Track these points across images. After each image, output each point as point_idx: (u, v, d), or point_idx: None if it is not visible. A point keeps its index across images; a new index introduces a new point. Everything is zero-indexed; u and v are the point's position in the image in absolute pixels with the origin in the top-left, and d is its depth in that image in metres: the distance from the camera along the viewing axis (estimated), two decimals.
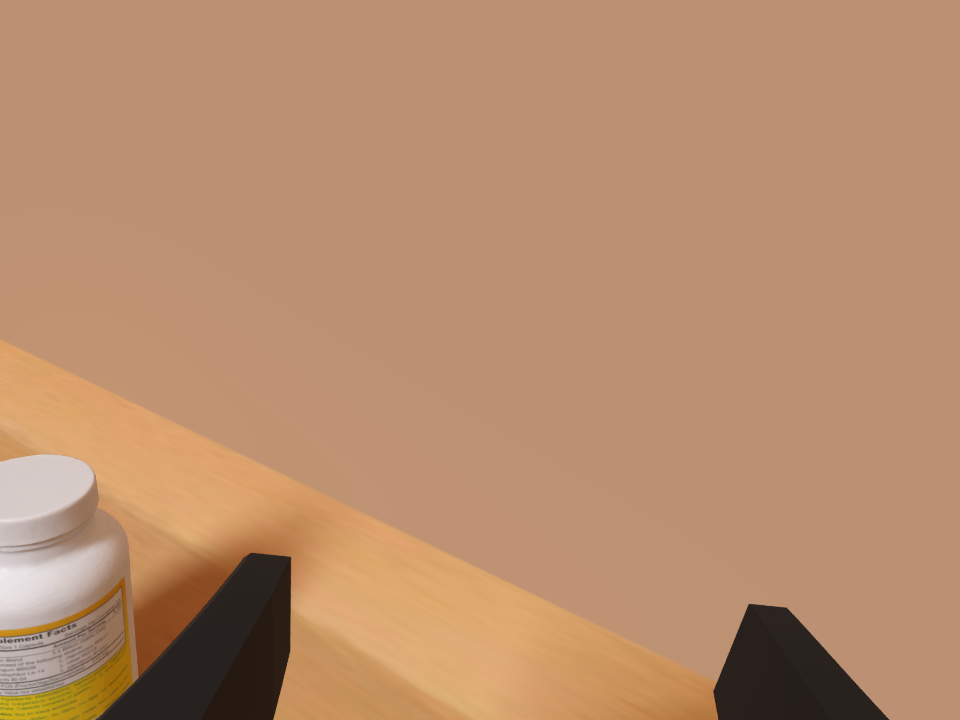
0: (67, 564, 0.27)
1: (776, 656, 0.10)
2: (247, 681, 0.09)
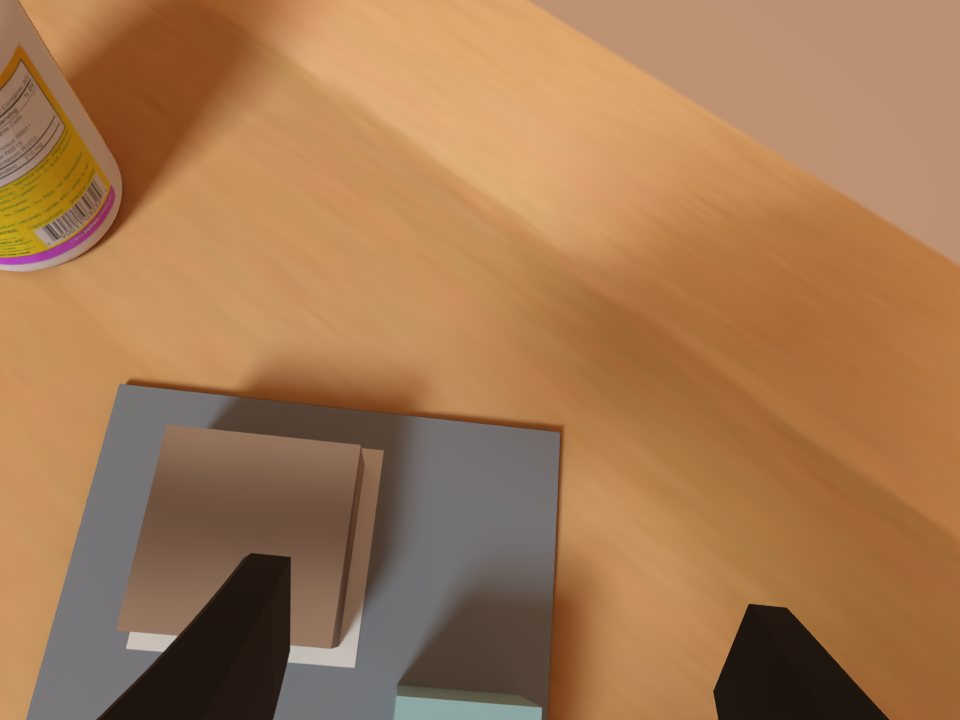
0: None
1: (776, 656, 0.10)
2: (247, 681, 0.09)
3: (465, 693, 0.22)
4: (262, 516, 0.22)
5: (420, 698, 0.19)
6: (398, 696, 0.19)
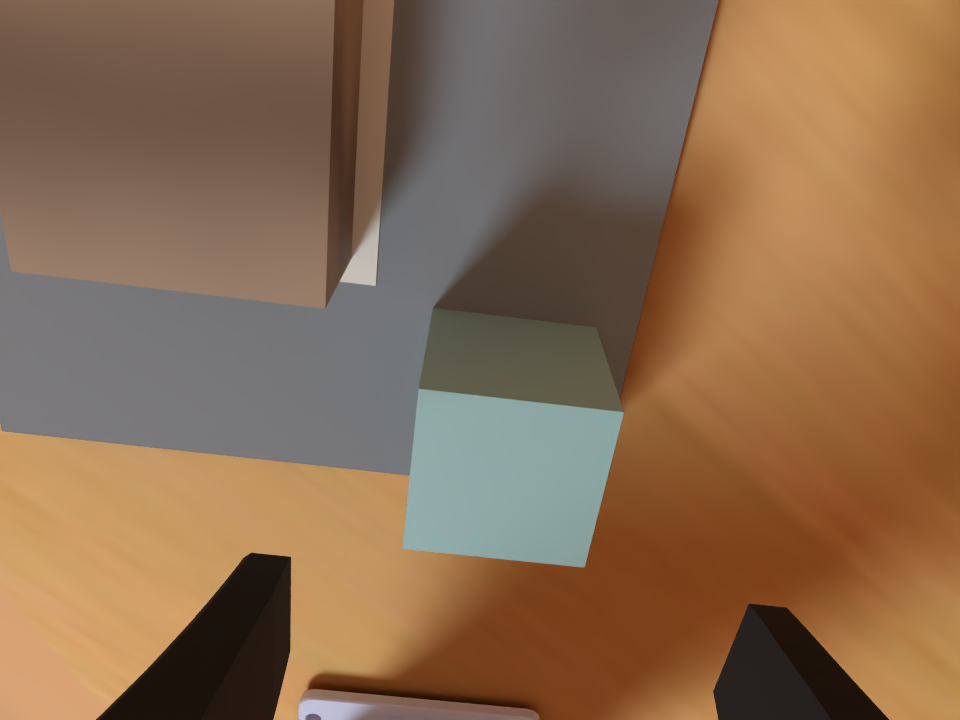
0: None
1: (776, 656, 0.10)
2: (247, 681, 0.09)
3: (522, 339, 0.16)
4: (179, 103, 0.12)
5: (452, 392, 0.14)
6: (421, 387, 0.14)
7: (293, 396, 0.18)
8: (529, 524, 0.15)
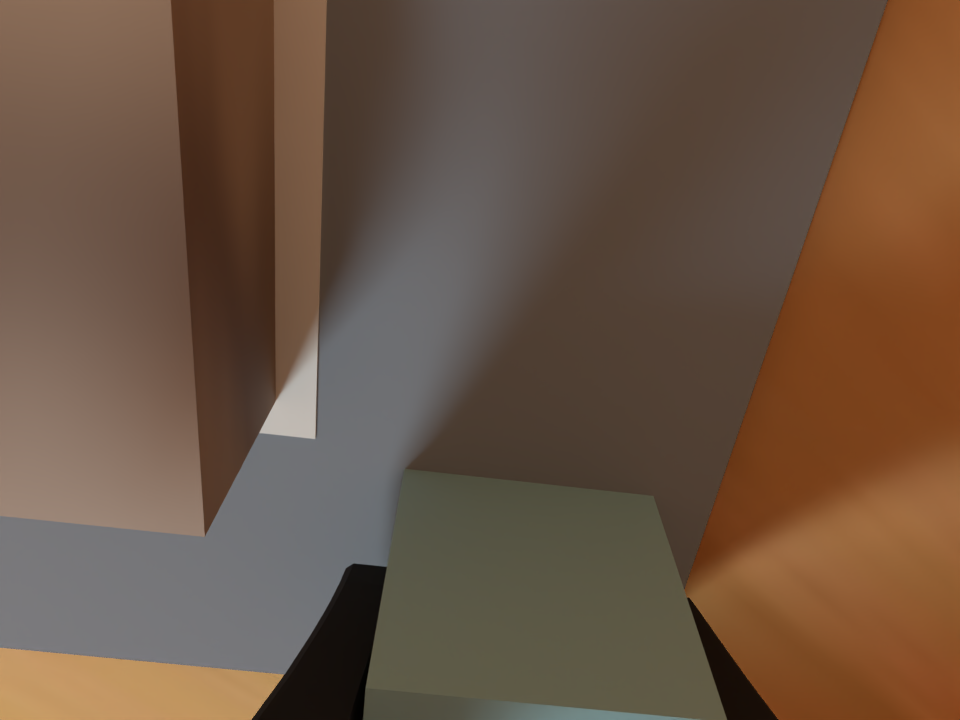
0: None
1: None
2: None
3: (543, 535, 0.10)
4: None
5: (425, 692, 0.08)
6: (371, 683, 0.08)
7: (200, 584, 0.12)
8: None
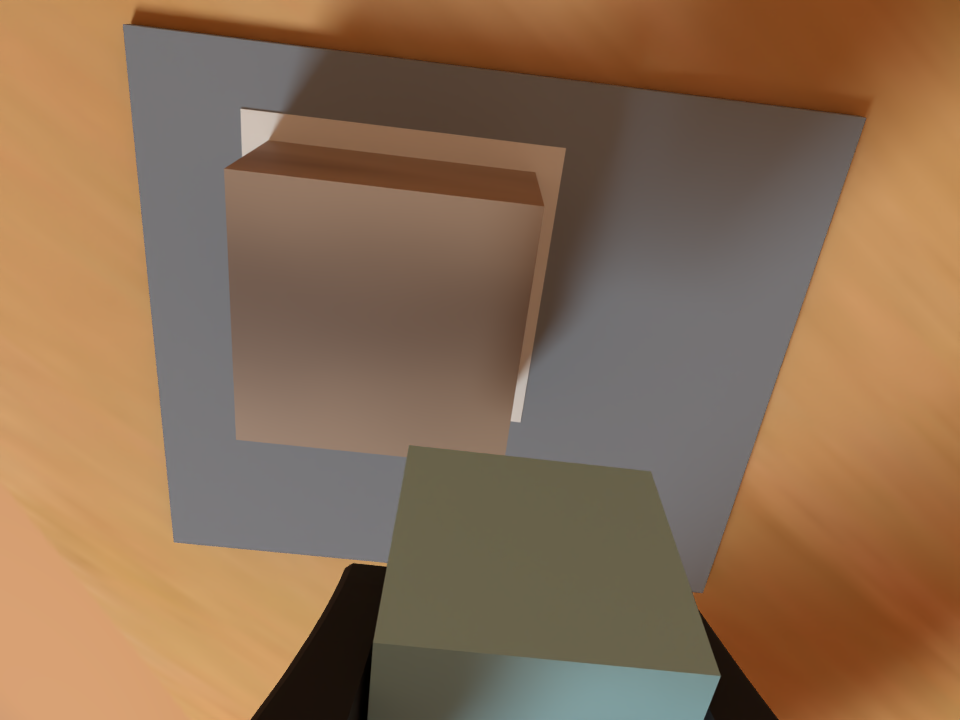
0: None
1: None
2: (366, 692, 0.09)
3: (543, 506, 0.11)
4: (398, 312, 0.14)
5: (430, 647, 0.08)
6: (378, 638, 0.08)
7: None
8: None
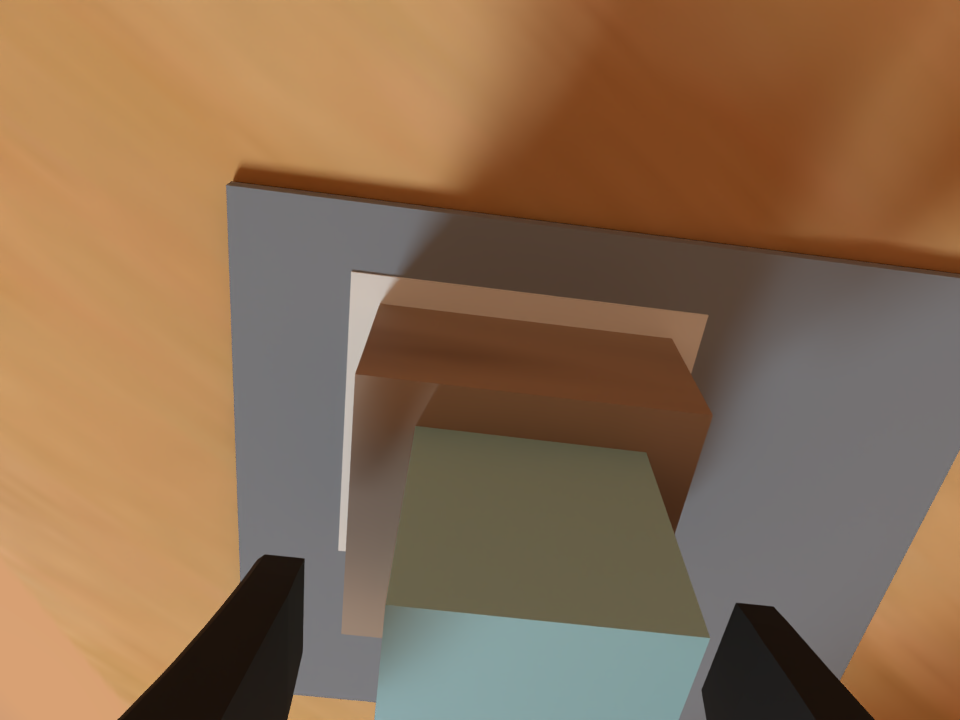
0: None
1: (762, 655, 0.10)
2: (263, 683, 0.09)
3: (544, 483, 0.11)
4: None
5: (439, 609, 0.09)
6: (390, 601, 0.09)
7: None
8: None
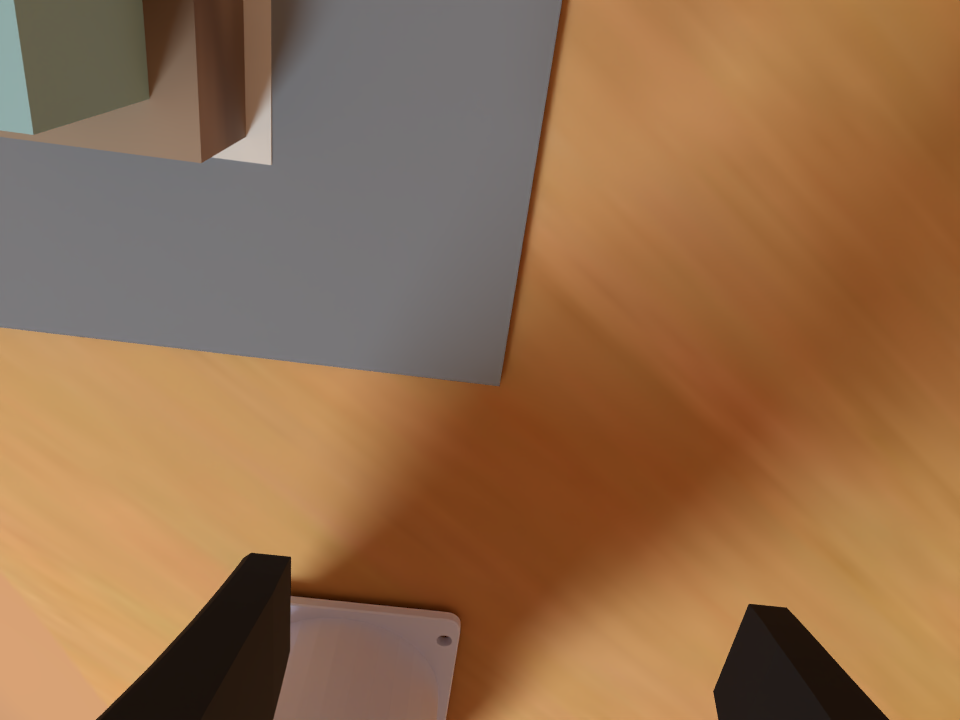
0: None
1: (776, 656, 0.10)
2: (247, 681, 0.09)
3: None
4: None
5: None
6: None
7: (199, 281, 0.19)
8: None
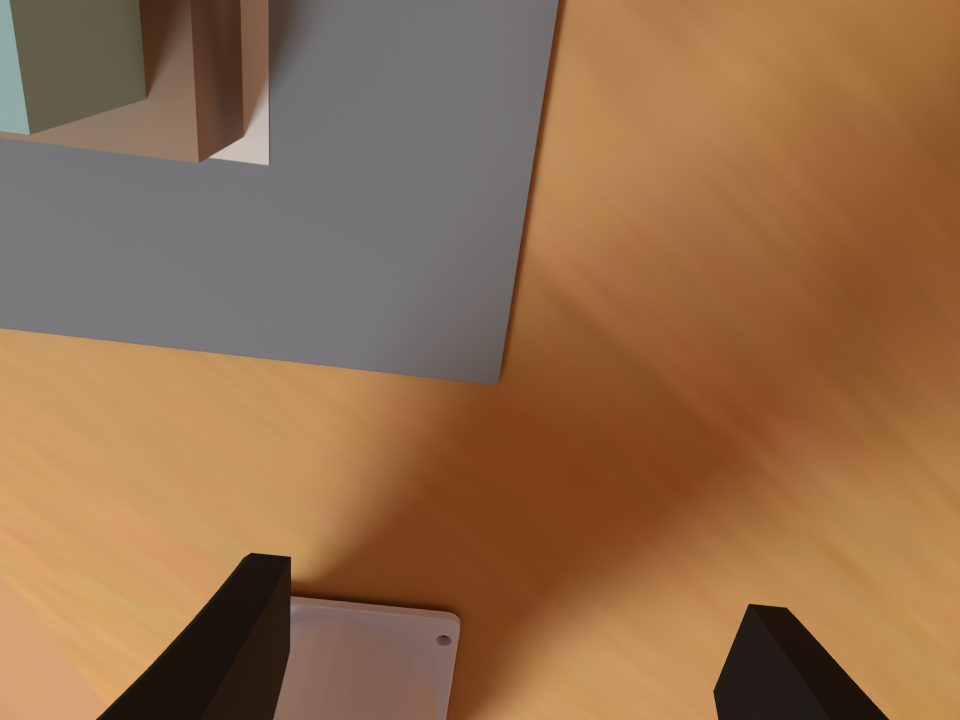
0: None
1: (776, 656, 0.10)
2: (247, 681, 0.09)
3: None
4: None
5: None
6: None
7: (197, 281, 0.19)
8: None
